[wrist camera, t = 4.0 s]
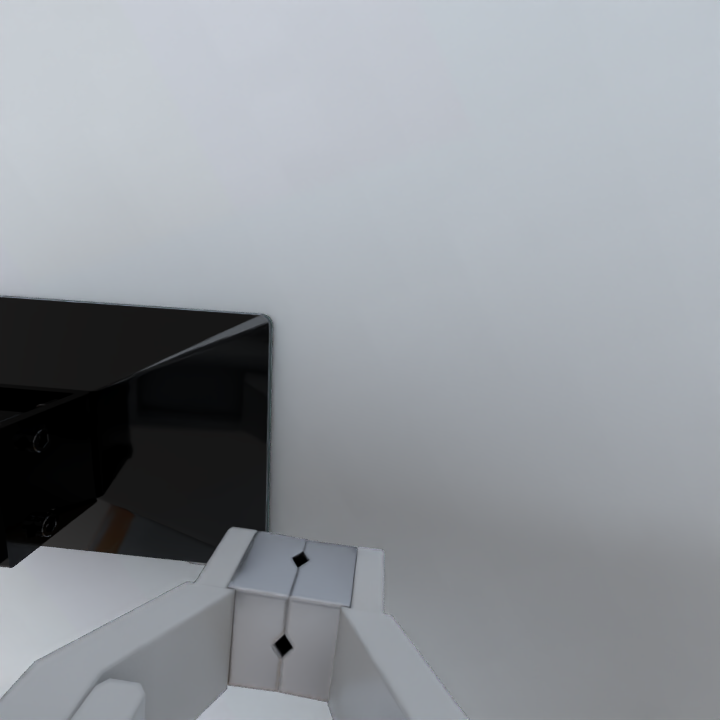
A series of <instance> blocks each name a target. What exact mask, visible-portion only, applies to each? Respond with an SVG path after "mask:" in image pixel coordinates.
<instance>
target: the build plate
mask: <svg viewBox="0 0 720 720" xmlns="http://www.w3.org/2000/svg"><path fill="white" fill-rule="evenodd" d="M271 376H272V321H271V319H270V317H269V316H267V315H265V314H258V313H244V312H229V311H215V310H201V309H186V308H172V307H157V306H143V305H129V304H114V303H100V302H86V301H71V300H57V299H42V298H28V297H14V296H0V567H9V568H12V567H14V566H15V565H17V564H18V563H19V562H20V561H22V560H23V559H24V558H26V557H27V556H28V555H29V554H31V553H32V552H33V551H35V550H36V549H37V548H38V547H40V546H47V547H57V548H66V549H76V550H85V551H95V552H104V553H114V554H123V555H133V556H142V557H152V558H161V559H171V560H180V561H187V562H189V563H192V564H201V565H206V564H207V562H208V561H209V559H210V558H211V556H212V554H213V553H214V551H215V550H216V548H217V546H218V545H219V543H220V542H221V540H222V539H223V537H224V535H225V534H226V532H227V531H228V530H229V529H230V528H232V527H240V528H246V529H253V530H256V531H264V532H268V529H269V478H270V427H271Z"/></svg>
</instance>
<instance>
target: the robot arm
mask: <svg viewBox="0 0 720 720" xmlns="http://www.w3.org/2000/svg"><path fill="white" fill-rule="evenodd" d="M384 566H385V552H384V551H383V549H375V548H367V547H358V549H357V547H354V546H347V545H340V544H332V543H325V542H318V541H311V540H308V539H303V538H297V537H292V536H286V535H281V534H275V533H270V532H264V531H256V530H253V529H246V528H240V527H232V528H230V529H229V530H228V531H227V532H226V534H225V535H224V537H223V539H222V540H221V542H220V543H219V545H218V546H217V548H216V550H215V551H214V553H213V554H212V556H211V558H210V559H209V561H208V562H207V564H206V565H205V567H204V569H203V570H202V572H201V573H200V575H199V576H198V578H197V580H196V581H195V583H191V582H185V583H183V584H181V585H179V586H177V587H176V588H174V589H172V590H170V591H168V592H166V593H164V594H162V595H160V596H158V597H157V598H155V599H153V600H151V601H149V602H147V603H145V604H143V605H141V606H139V607H137V608H136V609H134V610H132V611H130V612H128V613H126V614H124V615H122V616H120V617H118V618H117V619H115V620H113V621H111V622H109V623H107V624H105V625H103V626H101V627H99V628H97V629H96V630H94V631H92V632H90V633H88V634H86V635H84V636H82V637H80V638H78V639H77V640H75V641H73V642H71V643H69V644H67V645H65V646H63V647H61V648H59V649H57V650H56V651H54V652H52V653H50V654H48V655H46V656H44V657H42V658H40V659H38V660H37V661H35V662H34V663H33V664H32V665H31V666H30V667H29V668H28V669H27V670H26V671H25V672H24V674H23V675H22V676H21V677H20V678H19V679H18V680H17V681H16V682H15V683H14V684H13V686H12V687H11V688H10V689H9V690H8V691H7V692H6V693H5V694H4V695H3V696H2V697H1V699H0V720H196V719H197V718H198V717H199V716H200V715H201V714H202V713H203V712H204V711H205V710H206V709H207V708H208V707H209V706H210V705H211V704H212V703H213V702H214V701H215V700H216V699H217V698H218V697H219V696H220V695H221V694H222V693H223V692H224V691H225V690H226V689H227V685H230V686H238V687H245V688H252V689H260V690H267V691H274V692H278V691H279V692H280V693H285V694H290V695H295V696H300V697H305V698H310V699H315V700H319V701H324V702H328V707H329V710H330V712H331V715H332V718H333V720H469V718H468V717H467V716H466V714H465V713H464V711H463V710H462V709H461V707H460V706H459V705H458V703H457V702H456V701H455V699H454V698H453V697H452V695H451V694H450V693H449V691H448V690H447V689H446V687H445V686H444V684H443V683H442V682H441V680H440V679H439V678H438V676H437V675H436V674H435V672H434V671H433V670H432V668H431V667H430V666H429V664H428V663H427V661H426V660H425V659H424V657H423V656H422V655H421V653H420V652H419V651H418V649H417V648H416V647H415V645H414V644H413V643H412V641H411V640H410V639H409V637H408V636H407V634H406V633H405V632H404V630H403V629H402V628H401V626H400V625H399V624H398V622H397V621H396V620H395V618H394V617H393V616H392V615H389V614H384Z"/></svg>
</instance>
